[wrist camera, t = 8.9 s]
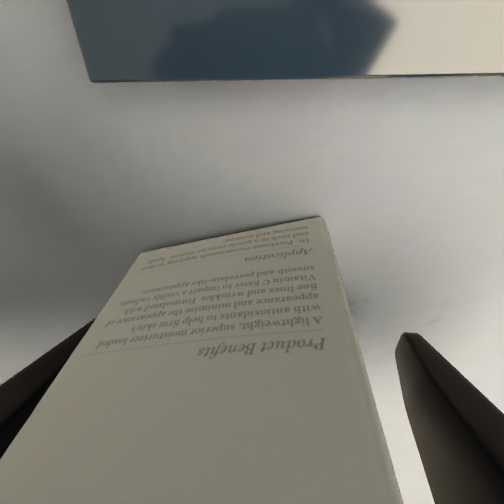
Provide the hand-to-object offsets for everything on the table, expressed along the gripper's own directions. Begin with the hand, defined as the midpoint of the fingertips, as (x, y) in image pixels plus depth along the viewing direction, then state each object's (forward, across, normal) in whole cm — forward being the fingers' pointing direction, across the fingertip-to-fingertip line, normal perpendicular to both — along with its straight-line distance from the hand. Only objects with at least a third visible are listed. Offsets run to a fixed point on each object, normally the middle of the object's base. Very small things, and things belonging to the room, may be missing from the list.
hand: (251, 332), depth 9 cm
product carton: (+2, 0, 0) cm, 2 cm away
